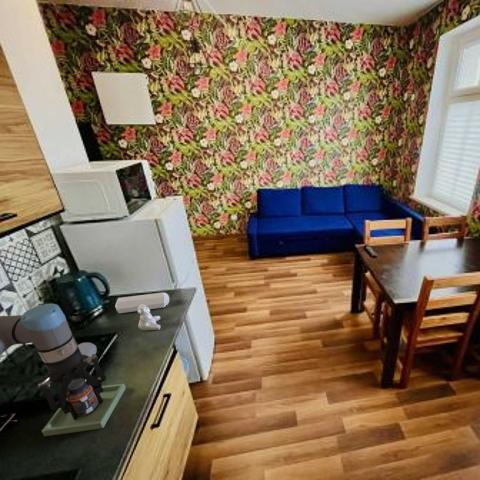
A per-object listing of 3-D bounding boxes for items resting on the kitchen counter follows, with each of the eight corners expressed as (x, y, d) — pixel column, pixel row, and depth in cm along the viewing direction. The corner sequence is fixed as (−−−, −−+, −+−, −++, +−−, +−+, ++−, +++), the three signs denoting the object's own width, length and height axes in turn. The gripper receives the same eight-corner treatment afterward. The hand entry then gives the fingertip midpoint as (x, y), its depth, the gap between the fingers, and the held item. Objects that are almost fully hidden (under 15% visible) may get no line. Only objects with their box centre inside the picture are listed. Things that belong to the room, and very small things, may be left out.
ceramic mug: (100, 352, 107) (93, 337, 104) (95, 367, 101) (88, 352, 98) (66, 362, 103) (58, 347, 100) (59, 378, 96) (50, 362, 93)
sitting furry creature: (161, 330, 120) (154, 308, 115) (138, 336, 116) (131, 314, 111) (160, 317, 127) (155, 296, 122) (139, 323, 123) (133, 302, 119)
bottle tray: (44, 436, 78) (41, 431, 77) (75, 394, 90) (73, 389, 90) (103, 428, 80) (100, 423, 80) (125, 388, 93) (124, 383, 92)
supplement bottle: (98, 412, 84) (86, 387, 80) (74, 422, 81) (60, 396, 77) (101, 397, 89) (90, 372, 85) (78, 405, 86) (65, 380, 82)
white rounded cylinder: (109, 311, 125) (166, 303, 131) (113, 297, 129) (167, 290, 135) (117, 317, 131) (170, 309, 137) (120, 303, 135) (172, 296, 141)
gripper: (16, 384, 67) (51, 441, 76) (105, 340, 81) (126, 392, 90) (10, 369, 71) (44, 425, 80) (96, 330, 85) (117, 381, 94)
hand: (87, 408), depth 85 cm, fingers closed on supplement bottle, 6 cm apart
